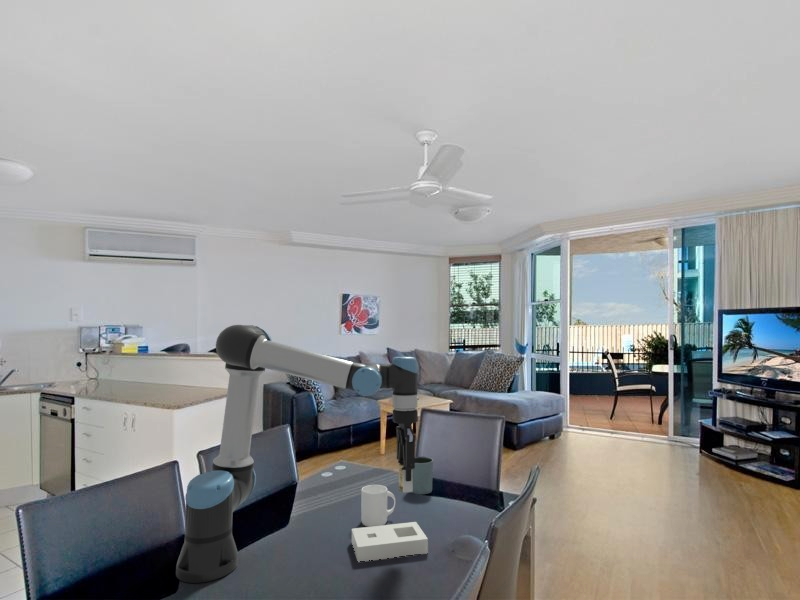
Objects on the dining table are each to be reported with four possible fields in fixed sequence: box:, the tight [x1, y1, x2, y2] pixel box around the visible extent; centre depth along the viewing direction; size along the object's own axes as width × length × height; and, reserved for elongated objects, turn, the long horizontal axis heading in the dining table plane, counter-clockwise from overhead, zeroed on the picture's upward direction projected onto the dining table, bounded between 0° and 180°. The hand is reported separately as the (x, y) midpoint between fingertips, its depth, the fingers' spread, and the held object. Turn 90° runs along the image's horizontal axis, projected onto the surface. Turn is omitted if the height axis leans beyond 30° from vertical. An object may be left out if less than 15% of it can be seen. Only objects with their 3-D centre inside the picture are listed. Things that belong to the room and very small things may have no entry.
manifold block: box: [351, 521, 429, 563], centre depth 129 cm, size 20×12×4 cm, turn 104°
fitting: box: [398, 463, 413, 493], centre depth 132 cm, size 4×4×7 cm
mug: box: [360, 484, 396, 527], centre depth 148 cm, size 9×12×11 cm
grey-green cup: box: [412, 456, 434, 495], centre depth 177 cm, size 10×10×12 cm
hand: (405, 488), depth 131 cm, fingers closed on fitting, 4 cm apart
